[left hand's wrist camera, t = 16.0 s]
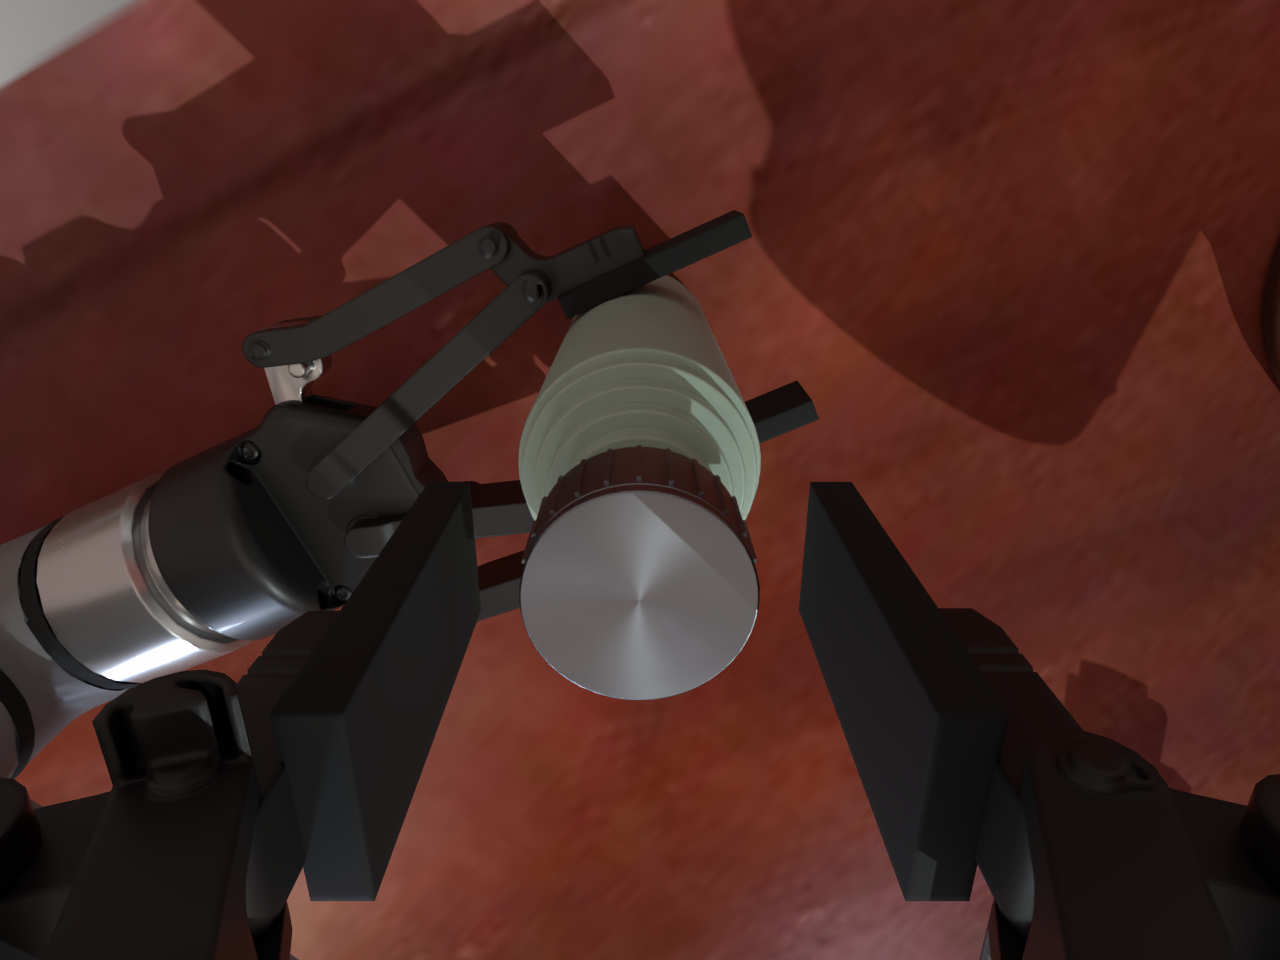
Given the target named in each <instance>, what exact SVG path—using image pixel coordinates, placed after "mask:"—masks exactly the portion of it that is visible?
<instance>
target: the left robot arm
mask: <svg viewBox="0 0 1280 960" xmlns="http://www.w3.org/2000/svg"><path fill="white" fill-rule="evenodd" d="M1263 334H1264V341H1265V349H1266V353H1267V356H1268V360H1269V364H1270V366H1271V369H1272V371H1273V374H1274V376H1275V379H1276V380H1277V382H1278V384H1279V386H1280V243H1279V246H1278V248H1277V251H1276V254H1275V257H1274V259H1273V262H1272V266H1271V269H1270V273H1269V277H1268V280H1267V286H1266V292H1265V297H1264V308H1263ZM480 611H481V605H480V593H479V582H478V571H477V559H476V548H475V537H474V525H473V514H472V503H471V491H470V482H428V484H427V485H426V487H425V488H424V490H423V491H422V492H421V494H420V495H419V497H418V498H417V500H416V501H415V503H414V504H413V506H412V507H411V508H410V510H409V511H408V513H407V514H406V516H405V517H404V519H403V520H402V522H401V523H400V524H399V526H398V527H397V529H396V530H395V532H394V533H393V535H392V536H391V538H390V539H389V540H388V542H387V543H386V545H385V546H384V548H383V549H382V551H381V552H380V554H379V555H378V556H377V558H376V559H375V561H374V562H373V564H372V565H371V567H370V568H369V570H368V571H367V572H366V574H365V575H364V577H363V578H362V580H361V581H360V583H359V584H358V586H357V587H356V588H355V590H354V591H353V593H352V594H351V596H350V597H349V599H348V600H347V602H346V603H345V604H344V606H343V607H342V609H341V610H340V611H307V612H306V613H304V614H303V615H301V616H300V617H298V618H297V619H295V620H294V621H292V622H291V623H289V624H288V625H286V626H285V627H283V628H282V629H280V630H279V631H278V633H277V634H276V635H275V636H274V638H273V639H272V640H271V641H270V643H269V644H268V645H267V646H266V648H265V649H264V650H263V652H262V656H259V657H258V658H257V659H256V660H255V662H254V663H253V664H252V665H251V667H250V668H249V669H248V674H247V675H244V676H243V677H242V678H241V679H240V681H239V682H238V683H237V684H236V682H235V681H233V680H232V679H231V678H230V677H228V676H227V675H226V674H224V673H219V672H214V671H209V670H194V671H180V672H176V673H172V674H169V675H165V676H161V677H157V678H153V679H151V680H149V681H146V682H144V683H142V684H140V685H138V686H135V687H133V688H131V689H129V690H127V691H125V692H124V693H122V694H121V695H119V696H118V697H117V698H115V699H114V700H112V701H111V702H109V703H108V704H106V705H105V706H104V708H103V709H102V710H101V711H100V713H99V714H98V715H97V716H96V718H95V719H94V720H93V721H92V722H93V725H94V728H95V731H96V734H97V737H98V740H99V743H100V747H101V750H102V753H103V756H104V759H105V762H106V765H107V768H108V771H109V774H110V777H111V781H112V784H113V787H112V790H111V791H110V792H106V793H103V794H99V795H95V796H91V797H86V798H82V799H77V800H72V801H68V802H63V803H59V804H54V805H50V806H45V807H41V808H36V809H33V806H32V803H31V801H30V798H29V795H28V793H27V790H26V787H24V786H23V785H21V784H20V783H18V782H17V781H16V780H14V779H11V778H1V777H0V960H290V949H291V939H292V925H291V918H290V913H289V908H288V904H287V898H288V896H289V894H290V892H291V890H292V888H293V886H294V884H295V882H296V880H297V878H298V876H299V874H300V872H301V870H302V868H304V872H305V877H306V882H307V886H308V891H309V895H310V900H311V901H375V898H376V896H377V893H378V890H379V887H380V885H381V882H382V879H383V877H384V874H385V871H386V868H387V866H388V863H389V860H390V857H391V855H392V852H393V849H394V846H395V844H396V841H397V838H398V835H399V833H400V830H401V827H402V825H403V822H404V819H405V816H406V814H407V811H408V808H409V805H410V803H411V800H412V797H413V794H414V792H415V789H416V786H417V783H418V781H419V778H420V775H421V773H422V770H423V767H424V764H425V762H426V759H427V756H428V753H429V751H430V748H431V745H432V742H433V740H434V737H435V734H436V731H437V729H438V726H439V723H440V721H441V718H442V715H443V712H444V710H445V707H446V704H447V701H448V699H449V696H450V693H451V690H452V688H453V685H454V682H455V679H456V677H457V674H458V671H459V669H460V666H461V663H462V660H463V658H464V655H465V652H466V649H467V647H468V644H469V641H470V638H471V636H472V633H473V630H474V627H475V625H476V622H477V619H478V617H479V614H480ZM799 611H800V614H801V617H802V619H803V622H804V625H805V627H806V630H807V633H808V636H809V638H810V641H811V644H812V647H813V649H814V652H815V655H816V658H817V660H818V663H819V666H820V669H821V671H822V674H823V677H824V679H825V682H826V685H827V688H828V690H829V693H830V696H831V699H832V701H833V704H834V707H835V710H836V712H837V715H838V718H839V721H840V723H841V726H842V729H843V731H844V734H845V737H846V740H847V742H848V745H849V748H850V751H851V753H852V756H853V759H854V762H855V764H856V767H857V770H858V773H859V775H860V778H861V781H862V783H863V786H864V789H865V792H866V794H867V797H868V800H869V803H870V805H871V808H872V811H873V814H874V816H875V819H876V822H877V825H878V827H879V830H880V833H881V835H882V838H883V841H884V844H885V846H886V849H887V852H888V855H889V857H890V860H891V863H892V866H893V868H894V871H895V874H896V877H897V879H898V882H899V885H900V887H901V890H902V893H903V896H904V898H905V901H969V900H970V895H971V891H972V886H973V882H974V877H975V872H976V868H977V864H978V866H979V868H980V870H981V872H982V874H983V876H984V878H985V880H986V882H987V884H988V886H989V888H990V890H991V892H992V895H993V897H994V900H993V904H992V908H991V913H990V917H989V921H988V926H987V930H986V934H985V938H984V943H983V947H982V951H981V956H980V960H1280V774H1278V775H1268V776H1267V777H1265V778H1264V779H1262V780H1261V781H1259V782H1258V783H1257V784H1256V785H1255V787H1254V790H1253V793H1252V795H1251V798H1250V801H1249V803H1248V806H1245V805H1241V804H1236V803H1232V802H1227V801H1223V800H1218V799H1213V798H1209V797H1204V796H1200V795H1195V794H1191V793H1186V792H1182V791H1178V790H1175V789H1171V788H1168V786H1167V784H1166V783H1165V781H1164V780H1163V778H1162V777H1161V775H1160V774H1159V773H1158V771H1157V770H1156V768H1155V767H1154V766H1153V765H1151V764H1150V763H1149V762H1148V761H1146V760H1145V759H1144V758H1143V757H1141V756H1140V755H1139V754H1138V753H1136V752H1135V751H1133V750H1131V749H1129V748H1127V747H1125V746H1123V745H1121V744H1119V743H1117V742H1115V741H1113V740H1112V739H1109V738H1106V737H1102V736H1099V735H1096V734H1092V733H1089V732H1085V731H1083V730H1082V729H1081V727H1080V726H1079V725H1078V724H1077V722H1076V721H1075V720H1074V719H1073V717H1072V716H1071V715H1070V714H1069V712H1068V711H1067V710H1066V709H1065V707H1064V706H1063V705H1062V703H1061V702H1060V701H1059V700H1058V698H1057V697H1056V696H1055V695H1054V693H1053V692H1052V691H1051V690H1050V688H1049V687H1048V686H1047V685H1046V683H1045V682H1044V681H1043V680H1042V678H1041V677H1040V676H1039V675H1038V673H1037V672H1033V667H1032V666H1031V665H1030V663H1029V662H1028V661H1027V660H1026V658H1025V657H1024V656H1023V655H1022V654H1019V653H1018V648H1017V647H1016V646H1015V645H1014V643H1013V642H1012V641H1011V639H1010V638H1009V637H1008V636H1007V634H1006V633H1005V632H1004V631H1003V629H1002V628H1001V627H1000V626H998V625H996V624H995V623H993V622H992V621H990V620H989V619H987V618H986V617H984V616H983V615H981V614H980V613H978V612H977V611H975V610H974V609H972V608H938V607H937V606H936V604H935V603H934V602H933V600H932V599H931V597H930V596H929V594H928V593H927V591H926V590H925V588H924V587H923V586H922V584H921V583H920V581H919V580H918V578H917V577H916V575H915V574H914V572H913V571H912V570H911V568H910V567H909V565H908V564H907V562H906V561H905V559H904V558H903V556H902V555H901V554H900V552H899V551H898V549H897V548H896V546H895V545H894V543H893V542H892V540H891V539H890V538H889V536H888V535H887V533H886V532H885V530H884V529H883V527H882V526H881V524H880V523H879V522H878V520H877V519H876V517H875V516H874V514H873V513H872V511H871V510H870V508H869V507H868V506H867V504H866V503H865V501H864V500H863V498H862V497H861V495H860V494H859V492H858V491H857V490H856V488H855V487H854V485H853V484H852V482H810V491H809V503H808V514H807V525H806V537H805V548H804V559H803V571H802V582H801V593H800V605H799Z"/></svg>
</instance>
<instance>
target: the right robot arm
mask: <svg viewBox="0 0 1280 960" xmlns="http://www.w3.org/2000/svg"><path fill="white" fill-rule="evenodd" d="M750 237H752V235H751V232H750V230H749V227H748V224H747V221H746V219H745V216H744V214H743V213H740V212H737V211H735V210H733V211H731V212H729V213H727V214H725V215H722V216H720V217H718V218H716V219H713V220H711V221H709V222H707V223H705V224H702V225H700V226H698V227H696V228H694V229H691V230H689V231H687V232H685V233H683V234H680V235H678V236H676V237H674V238H672V239H669V240H667V241H665V242H663V243H661V244H658V245H656V246H654V247H652V248H650V249H647V250H645V251H644V249H643V247H642V244H641V242H640V239H639V237H638V235H637V232H636V230H635V227H634V226H617V227H615V228H613V229H611V230H609V231H607V232H604V233H602V234H600V235H598V236H596V237H594V238H592V239H589V240H587V241H585V242H583V243H581V244H578V245H576V246H574V247H572V248H570V249H568V250H565V251H563V252H561V253H559V254H557V255H553V256H542V255H539V254H537V253H535V252H534V251H533V250H531V249H530V248H529V247H528V246H527V245H526V244H525V243H524V242H523V240H522V239H521V238H520V237H519V236H518V235H517V232H516V231H515V230H514V228H513V227H512V226H510V225H509V224H507V223H502V222H498V223H494V224H490V225H487V226H484V227H482V228H479V229H477V230H476V231H474V232H472V233H470V234H469V235H467V236H465V237H463V238H461V239H460V240H458V241H456V242H454V243H452V244H451V245H449V246H447V247H445V248H443V249H442V250H440V251H438V252H436V253H434V254H433V255H431V256H429V257H427V258H426V259H424V260H422V261H420V262H418V263H417V264H415V265H413V266H411V267H409V268H408V269H406V270H404V271H402V272H400V273H399V274H397V275H395V276H393V277H391V278H390V279H388V280H386V281H384V282H383V283H381V284H379V285H377V286H375V287H374V288H372V289H370V290H368V291H366V292H365V293H363V294H361V295H359V296H357V297H356V298H354V299H352V300H350V301H348V302H347V303H345V304H343V305H341V306H340V307H338V308H336V309H334V310H332V311H331V312H329V313H327V314H325V315H322V316H314V317H306V318H299V319H291V320H285V321H282V322H279V323H277V324H274V325H271V326H269V327H266V328H264V329H262V330H260V331H257V332H255V333H252V334H250V335H248V336H247V337H246V338H245V339H244V342H243V345H242V347H243V353H244V355H245V357H246V359H247V360H248V361H249V362H250V363H251V364H253V365H255V366H257V367H262V368H264V369H265V372H266V376H267V379H268V382H269V385H270V389H271V392H272V395H273V398H274V402H275V406H273V407H272V408H271V409H270V410H269V411H268V412H267V413H266V415H265V417H264V419H263V420H262V422H261V423H260V424H259V426H258V427H256V428H254V429H252V430H250V431H248V432H245V433H243V434H241V435H239V436H237V437H234V438H232V439H230V440H228V441H226V442H223V443H221V444H219V445H217V446H215V447H212V448H210V449H208V450H206V451H204V452H201V453H199V454H197V455H195V456H192V457H190V458H188V459H186V460H184V461H181V462H179V463H177V464H175V465H173V466H172V467H171V468H169V469H168V470H167V471H166V472H161V473H155V474H153V475H151V476H148V477H146V478H144V479H142V480H140V481H137V482H135V483H133V484H131V485H129V486H126V487H124V488H122V489H120V490H118V491H115V492H113V493H111V494H109V495H107V496H105V497H102V498H100V499H98V500H96V501H94V502H91V503H89V504H87V505H85V506H83V507H80V508H78V509H76V510H74V511H72V512H69V513H67V514H66V515H65V516H63V517H61V518H59V519H57V520H55V521H53V522H52V523H50V524H48V525H46V526H43V527H41V528H39V529H36V530H34V531H32V532H29V533H27V534H25V535H22V536H20V537H18V538H15V539H13V540H11V541H9V542H6V543H4V544H2V545H0V777H1V778H11V779H15V778H16V777H17V776H18V775H19V774H20V773H21V772H22V770H23V769H24V768H25V766H26V765H27V763H28V762H29V761H31V760H32V759H33V758H34V757H35V756H36V755H37V754H38V753H39V752H40V751H41V750H42V749H43V748H44V747H45V746H46V745H47V744H48V743H49V742H50V741H51V740H52V739H53V738H54V737H55V736H56V735H57V734H58V733H59V732H61V731H62V730H63V729H64V728H65V727H66V726H67V725H68V724H69V723H70V722H72V721H73V720H74V719H76V718H77V717H79V716H80V715H82V714H83V713H85V712H86V711H88V710H90V709H92V708H94V707H96V706H99V705H101V704H103V703H106V702H108V701H110V700H113V699H115V698H117V697H118V696H119V695H121V694H122V693H124V692H125V691H127V690H129V689H131V688H133V687H135V686H138V685H140V684H142V683H144V682H146V681H149V680H151V679H153V678H157V677H161V676H165V675H169V674H172V673H176V672H180V671H184V670H186V669H189V668H191V667H194V666H197V665H199V664H202V663H204V662H207V661H210V660H212V659H215V658H217V657H220V656H222V655H225V654H228V653H230V652H233V651H235V650H238V649H240V648H242V647H244V646H246V645H248V644H250V643H251V642H252V641H253V640H259V639H263V638H266V637H269V636H271V635H274V634H276V633H278V631H279V630H280V629H282V628H283V627H285V626H286V625H288V624H289V623H291V622H292V621H294V620H295V619H297V618H298V617H300V616H301V615H303V614H304V613H306V612H307V611H333V610H335V609H337V608H340V607H342V606H344V604H345V603H346V602H347V600H348V599H349V597H350V596H351V594H352V593H353V591H354V590H355V588H356V587H357V586H358V584H359V583H360V581H361V580H362V578H363V577H364V575H365V574H366V572H367V571H368V570H369V568H370V567H371V565H372V564H373V562H374V561H375V559H376V558H377V556H378V555H379V554H380V552H381V551H382V549H383V548H384V546H385V545H386V543H387V542H388V540H389V539H390V538H391V536H392V535H393V533H394V532H395V530H396V529H397V527H398V526H399V524H400V523H401V522H402V520H403V519H404V517H405V516H406V514H407V513H408V511H409V510H410V508H411V507H412V506H413V504H414V503H415V501H416V500H417V498H418V497H419V495H420V494H421V492H422V491H423V490H424V488H425V487H426V485H427V484H428V482H448V481H447V479H446V477H445V475H444V474H443V472H442V471H441V470H440V469H439V468H438V467H437V466H436V465H435V464H434V463H433V462H432V461H431V460H430V459H429V457H428V454H427V451H426V447H425V443H424V440H423V437H422V435H421V433H420V431H419V430H418V428H417V426H416V424H415V422H416V421H417V420H418V419H419V418H420V417H421V416H422V415H423V414H424V413H426V412H427V411H428V410H429V409H430V408H431V407H432V406H433V405H434V404H435V403H437V402H438V401H439V400H440V399H441V398H442V397H443V396H444V395H445V394H446V393H448V392H449V391H450V390H451V389H452V388H453V387H454V386H455V385H456V384H457V383H458V382H460V381H461V380H462V379H463V378H464V377H465V376H466V375H467V374H468V373H469V372H471V371H472V370H473V369H474V368H475V367H476V366H477V365H478V364H479V363H480V362H482V361H483V360H484V359H485V358H486V357H487V356H488V355H489V354H490V353H491V352H493V351H494V350H495V349H496V348H497V347H498V346H499V345H500V344H501V343H502V342H503V341H505V340H506V339H507V338H508V337H509V336H510V335H511V334H512V333H513V332H514V331H516V330H517V329H518V328H519V327H520V326H521V325H522V324H523V323H524V322H525V321H527V320H528V319H529V318H530V317H531V316H532V315H533V314H534V313H535V312H536V311H538V310H539V309H540V308H541V307H543V306H544V304H545V303H546V302H549V301H551V300H553V299H555V298H557V297H558V300H559V302H560V304H561V306H562V309H563V311H564V313H565V315H566V317H567V319H569V318H571V317H574V316H576V315H578V314H580V313H583V312H585V311H587V310H589V309H591V308H594V307H596V306H598V305H600V304H603V303H605V302H607V301H609V300H612V299H614V298H616V297H618V296H621V295H623V294H625V293H627V292H630V291H632V290H634V289H636V288H639V287H641V286H643V285H645V284H647V283H650V282H652V281H654V280H656V279H659V278H661V277H663V276H665V275H668V274H670V273H672V272H674V271H677V270H679V269H681V268H683V267H686V266H688V265H690V264H692V263H695V262H697V261H699V260H701V259H703V258H706V257H708V256H710V255H712V254H715V253H717V252H719V251H721V250H724V249H726V248H728V247H730V246H733V245H735V244H737V243H739V242H742V241H744V240H746V239H748V238H750ZM489 268H490V269H491V270H492V271H493V272H494V273H495V274H496V275H497V276H498V277H499V278H500V279H501V280H502V281H503V282H504V283H505V284H506V285H507V286H508V287H507V288H506V289H504V290H503V291H502V292H501V293H500V294H499V295H498V296H497V297H496V298H495V299H494V300H493V301H492V302H491V303H489V304H488V305H487V306H486V307H485V308H484V309H483V310H482V311H481V312H480V313H479V314H478V315H477V316H476V317H474V318H473V319H472V320H471V321H470V322H469V323H468V324H467V325H466V326H465V327H464V328H463V329H462V330H461V331H459V332H458V333H457V334H456V335H455V336H454V337H453V338H452V339H451V340H450V341H449V342H448V343H447V344H446V345H444V346H443V347H442V348H441V349H440V350H439V351H438V352H437V353H436V354H435V355H434V356H433V357H432V358H431V359H430V360H428V361H427V362H426V363H425V364H424V365H423V366H422V367H421V368H420V369H419V370H418V371H417V372H416V373H415V374H413V375H412V376H411V377H410V378H409V379H408V380H407V381H406V382H405V383H404V384H403V385H402V386H401V387H400V388H398V389H397V390H396V391H395V392H394V393H393V394H392V395H391V396H390V397H389V398H388V399H387V400H385V401H384V402H383V403H382V404H381V405H380V406H379V407H378V408H377V407H373V406H368V405H363V404H358V403H353V402H348V401H343V400H339V399H334V398H329V397H324V396H319V395H314V394H312V392H311V386H312V383H313V381H314V380H316V379H317V378H319V377H320V376H322V375H324V374H325V373H326V372H328V371H329V369H330V367H331V364H332V359H331V354H333V353H335V352H337V351H339V350H341V349H343V348H344V347H346V346H348V345H350V344H352V343H354V342H355V341H357V340H359V339H361V338H363V337H365V336H366V335H368V334H370V333H372V332H374V331H375V330H377V329H379V328H381V327H383V326H385V325H386V324H388V323H390V322H392V321H394V320H396V319H397V318H399V317H401V316H403V315H405V314H407V313H408V312H410V311H412V310H414V309H416V308H418V307H419V306H421V305H423V304H425V303H427V302H429V301H430V300H432V299H434V298H436V297H438V296H440V295H441V294H443V293H445V292H447V291H449V290H451V289H452V288H454V287H456V286H458V285H460V284H461V283H463V282H465V281H467V280H469V279H471V278H472V277H474V276H476V275H478V274H480V273H482V272H483V271H485V270H487V269H489ZM745 404H746V407H747V409H748V411H749V413H750V415H751V418H752V420H753V423H754V425H755V428H756V432H757V436H758V439H759V443H761V442H764V441H766V440H769V439H771V438H774V437H776V436H779V435H781V434H784V433H786V432H789V431H791V430H794V429H796V428H799V427H801V426H804V425H806V424H809V423H811V422H814V421H816V420H818V419H819V418H818V415H817V413H816V410H815V407H814V404H813V402H812V400H811V398H810V397H809V396H808V394H807V393H806V392H805V390H804V389H803V388H802V386H801V385H800V384H799V383H798V381H795V382H792V383H790V384H787V385H785V386H783V387H780V388H778V389H775V390H773V391H770V392H768V393H766V394H763V395H761V396H758V397H756V398H753V399H751V400H749V401H746V402H745ZM464 482H470V491H471V503H472V514H473V525H474V537H475V538H482V537H492V536H501V535H511V534H521V533H530V531H531V528H532V525H533V522H534V519H533V517H532V516H531V513H530V510H529V508H528V505H527V503H526V499H525V496H524V494H523V490H522V486H521V482H520V480H516V481H507V482H497V483H488V484H478V483H477V482H475V481H464ZM524 551H525V550H524ZM524 551H521V552H518V553H515V554H512V555H509V556H506V557H503V558H500V559H497V560H494V561H491V562H488V563H486V564H483V565H481V566H478V567H477V571H478V582H479V593H480V605H481V611H480V614H479V617H478V619H477V622H478V621H480V620H483V619H486V618H489V617H492V616H495V615H499V614H502V613H505V612H508V611H511V610H514V609H517V608H520V602H519V586H520V580H521V574H522V570H523V567H524V564H522V563H521V561H522V558H523V554H524ZM477 622H476V623H477ZM30 801H31V803H32V806H33V809H36V808H41V807H42V806H41V805H39V804H37V803H36V802H34V801H32V800H31V799H30ZM290 960H298V959H297V958H295V957H294V956H292V955H291V954H290Z"/></svg>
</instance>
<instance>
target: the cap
mask: <svg viewBox="0 0 1280 960" xmlns="http://www.w3.org/2000/svg"><path fill="white" fill-rule="evenodd" d="M521 563H522V564H524V567H523V570H522V574H521V580H520V586H519V602H520V609H521V615H522V619H523V622H524V625H525V628H526V631H527V633H528V635H529V637H530V639H531V641H532V643H533V644H534V646H535V647H536V649H537V650H538V652H539V653H540V654H541V656H542V657H543V658H544V659H545V660H546V661H547V663H548V664H549V665H551V666H552V667H553V668H554V669H555V670H556V671H557V672H558V673H560V674H561V675H562V676H564V677H565V678H567V679H568V680H570V681H571V682H573V683H575V684H577V685H579V686H581V687H582V688H585V689H587V690H590V691H592V692H595V693H598V694H601V695H605V696H609V697H613V698H620V699H628V700H651V699H659V698H665V697H670V696H674V695H678V694H681V693H684V692H687V691H689V690H692V689H694V688H696V687H698V686H700V685H702V684H704V683H706V682H707V681H709V680H711V679H712V678H714V677H715V676H716V675H718V674H719V673H721V672H722V671H723V670H724V669H725V668H726V667H727V666H728V665H729V664H730V663H731V662H732V661H733V660H734V659H735V658H736V657H737V655H738V654H739V653H740V652H741V650H742V649H743V647H744V645H745V644H746V642H747V641H748V639H749V637H750V634H751V632H752V630H753V628H754V625H755V621H756V618H757V614H758V608H759V589H760V586H759V582H758V576H757V571H756V568H755V564H754V563H757V558H756V555H755V552H754V548H753V545H752V542H751V538H750V535H749V532H748V529H747V525H746V522H745V520H742V516H741V513H740V509H739V506H738V503H737V499H736V497H735V496H731V495H730V493H729V492H728V490H727V489H726V487H725V486H724V485H723V484H722V483H721V479H720V477H719V476H718V475H716V476H715V475H714V474H713V473H711V472H710V471H709V470H708V469H707V468H705V467H704V466H702V465H701V464H699V463H698V460H696V459H695V458H694V459H693V460H692V459H690V458H688V457H686V456H684V455H682V454H679V453H676V452H673V451H671V449H668V448H666V450H665V449H660V448H655V447H641V445H637V447H624V448H619V449H614V450H612V448H610V449H608V450H607V451H606V452H603V453H600V454H597V455H595V456H593V457H591V458H589V459H587V460H585V459H582V460H581V462H580V464H578V465H577V466H575V467H574V468H572V469H571V470H570V471H569V472H568V473H566V474H565V475H564V476H562V475H561V476H560V477H559V478H558V481H557V483H556V485H555V486H554V487H553V488H552V490H551V491H550V493H549V494H548V496H547V497H545V496H544V497H543V499H542V502H541V505H540V508H539V512H538V515H537V518H536V521H535V520H534V522H533V525H532V528H531V531H530V535H529V538H528V541H527V544H526V548H525V551H524V554H523V558H522V561H521Z"/></svg>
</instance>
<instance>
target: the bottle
mask: <svg viewBox="0 0 1280 960" xmlns="http://www.w3.org/2000/svg"><path fill="white" fill-rule="evenodd" d="M637 445H641V447H655V448H660V449H665V450H666V448H668V449H671V451H673V452H676V453H679V454H682V455H684V456H686V457H688V458H690V459H692V460H693V459H694V458H695V459H696V460H698V463H699V464H701V465H702V466H704V467H705V468H707V469H708V470H709V471H710V472H711V473H713V474H714V475H715V476H716V475H718V476H719V477H720V479H721V483H722V484H723V485H724V486H725V487H726V489H727V490H728V492H729V493H730V495H731V496H735V497H736V499H737V503H738V506H739V509H740V513H741V516H742V520H745V519H746V517H747V515H748V513H749V511H750V509H751V505H752V502H753V500H754V497H755V494H756V490H757V487H758V482H759V476H760V466H761V454H760V445H759V439H758V436H757V432H756V428H755V425H754V423H753V420H752V418H751V415H750V413H749V411H748V409H747V407H746V404H745V402H744V400H743V398H742V396H741V393H740V391H739V389H738V387H737V385H736V383H735V380H734V378H733V376H732V374H731V372H730V370H729V367H728V365H727V363H726V361H725V359H724V356H723V354H722V352H721V350H720V348H719V346H718V343H717V341H716V339H715V337H714V335H713V333H712V330H711V328H710V326H709V324H708V322H707V319H706V317H705V315H704V313H703V311H702V309H701V307H700V305H699V303H698V301H697V300H696V298H695V297H694V296H693V295H692V293H691V292H690V291H689V290H688V289H687V288H686V287H685V286H684V285H682V284H681V283H680V282H678V281H677V280H675V279H674V278H672V277H670V276H668V275H665V276H663V277H661V278H659V279H656V280H654V281H652V282H650V283H647V284H645V285H643V286H641V287H639V288H636V289H634V290H632V291H630V292H627V293H625V294H623V295H621V296H618V297H616V298H614V299H612V300H609V301H607V302H605V303H603V304H600V305H598V306H596V307H594V308H591V309H589V310H587V311H585V312H583V313H580V314H578V315H576V316H574V318H573V320H572V322H571V325H570V327H569V329H568V331H567V333H566V335H565V338H564V340H563V342H562V344H561V346H560V348H559V351H558V353H557V355H556V357H555V359H554V361H553V364H552V366H551V368H550V370H549V372H548V374H547V377H546V379H545V381H544V383H543V385H542V387H541V389H540V392H539V394H538V396H537V398H536V400H535V402H534V405H533V407H532V409H531V411H530V413H529V415H528V418H527V420H526V423H525V426H524V429H523V432H522V435H521V440H520V446H519V459H518V466H519V477H520V482H521V486H522V490H523V494H524V496H525V499H526V503H527V505H528V508H529V510H530V513H531V516H532V517H533V519H534V520H535V521H536V518H537V515H538V512H539V508H540V505H541V502H542V499H543V497H544V496H545V497H547V496H548V494H549V493H550V491H551V490H552V488H553V487H554V486H555V485H556V483H557V481H558V478H559V477H560V476H561V475H562V476H564V475H565V474H566V473H568V472H569V471H570V470H571V469H572V468H574V467H575V466H577V465H578V464H580V462H581V460H582V459H585V460H587V459H589V458H591V457H593V456H595V455H597V454H600V453H603V452H606V451H607V450H608V449H610V448H612V450H614V449H619V448H624V447H637Z"/></svg>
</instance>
